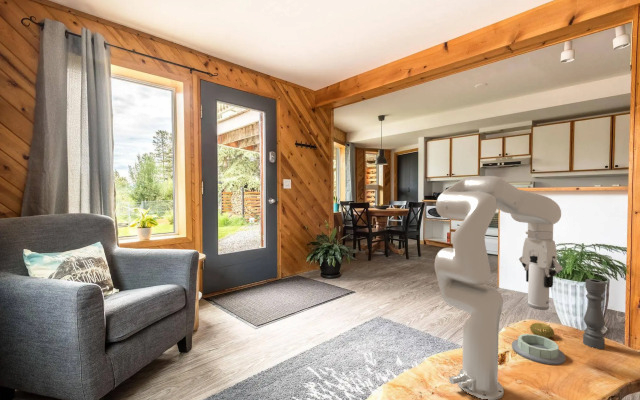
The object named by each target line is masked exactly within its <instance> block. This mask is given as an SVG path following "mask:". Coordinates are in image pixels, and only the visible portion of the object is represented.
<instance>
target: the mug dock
mask: <svg viewBox="0 0 640 400" xmlns="http://www.w3.org/2000/svg"><path fill="white" fill-rule="evenodd" d="M511 349H512V350H513V351H514V352H515V353H516V354H517V355H519V356H520V357H522V358H523V359H526V360H529V361H532V362H536V363H538V364H543V365H549V366H558V365H562V364H565V362H566V355H565V353H564V352H563V351H562V350H560V346H559V344H558V343H556V341H554V340H551V339H550V338H545V337H542V336H538V335H535V334H533V333H532V334H530V333H522V334H519V335H518V337H517V339H516V340H513V341H512V343H511Z"/></svg>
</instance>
